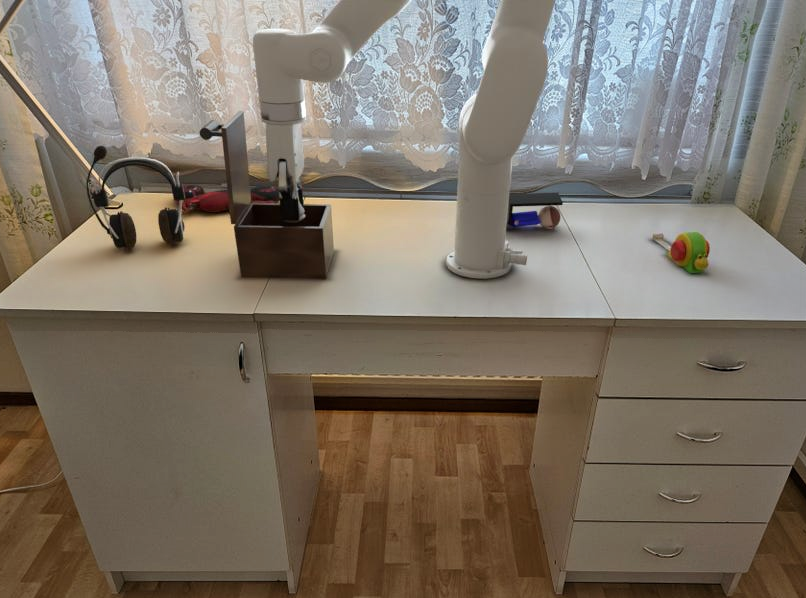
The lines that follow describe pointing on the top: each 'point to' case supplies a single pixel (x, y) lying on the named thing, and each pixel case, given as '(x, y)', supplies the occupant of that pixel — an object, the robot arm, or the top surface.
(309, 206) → the toy chest
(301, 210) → the rook chess piece
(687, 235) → the toy measuring tape
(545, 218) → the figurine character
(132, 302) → the top surface
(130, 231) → the headset
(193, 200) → the toy motorcycle
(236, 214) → the box lid
